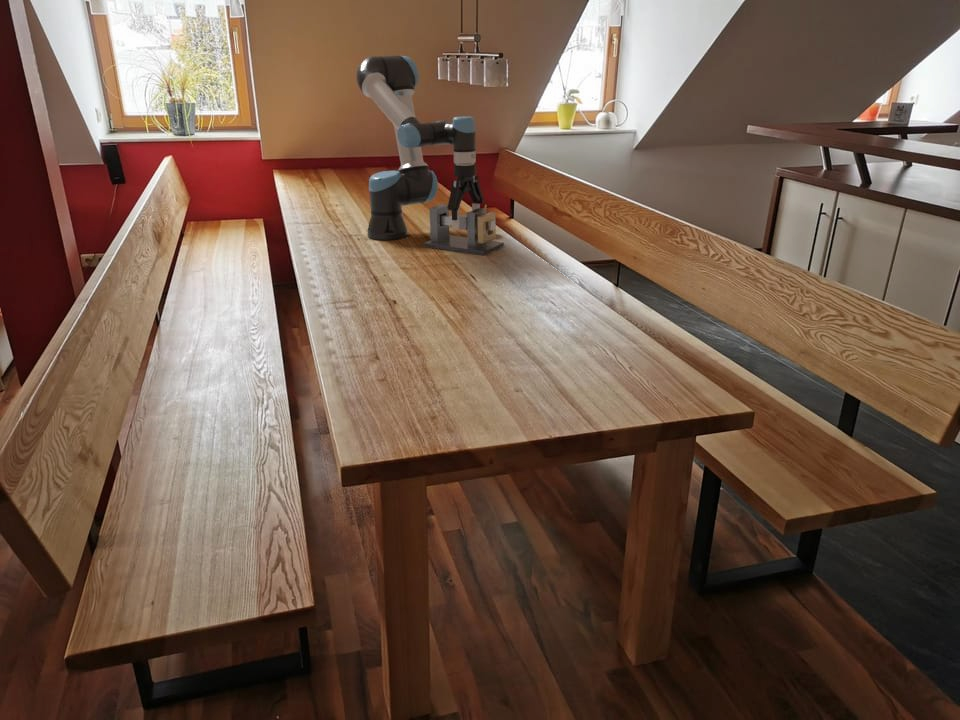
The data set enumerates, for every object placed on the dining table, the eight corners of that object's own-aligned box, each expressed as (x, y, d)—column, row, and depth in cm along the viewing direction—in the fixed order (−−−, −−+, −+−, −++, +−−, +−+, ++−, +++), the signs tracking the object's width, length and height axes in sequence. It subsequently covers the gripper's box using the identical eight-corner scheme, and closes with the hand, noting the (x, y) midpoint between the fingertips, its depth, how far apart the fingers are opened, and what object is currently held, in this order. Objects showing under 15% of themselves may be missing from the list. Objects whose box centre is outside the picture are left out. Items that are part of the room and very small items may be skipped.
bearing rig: (423, 246, 270) (422, 209, 264) (444, 238, 281) (443, 202, 276) (484, 255, 258) (484, 216, 253) (503, 246, 269) (503, 208, 264)
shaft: (431, 225, 271) (431, 213, 269) (438, 223, 274) (438, 211, 272) (489, 233, 259) (489, 220, 258) (496, 230, 263) (496, 217, 261)
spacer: (477, 242, 261) (477, 216, 257) (490, 237, 268) (490, 211, 264) (482, 243, 260) (482, 217, 256) (495, 237, 267) (495, 212, 263)
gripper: (454, 169, 246) (456, 233, 254) (492, 160, 266) (492, 219, 274) (435, 168, 249) (438, 231, 258) (473, 158, 269) (475, 218, 277)
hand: (466, 225), depth 266 cm, fingers open, 13 cm apart
